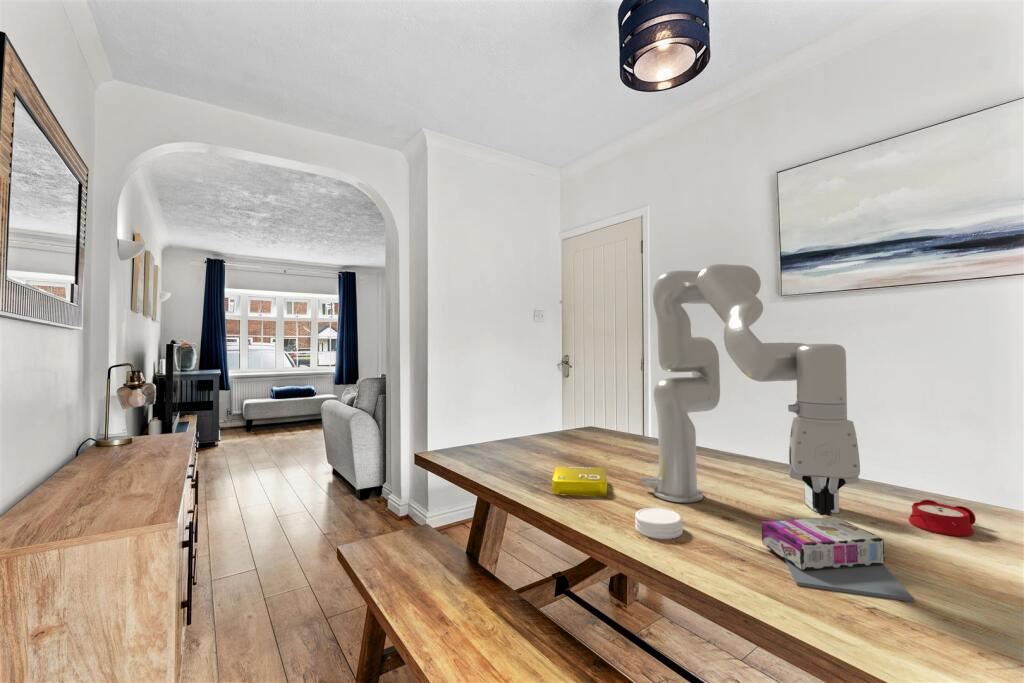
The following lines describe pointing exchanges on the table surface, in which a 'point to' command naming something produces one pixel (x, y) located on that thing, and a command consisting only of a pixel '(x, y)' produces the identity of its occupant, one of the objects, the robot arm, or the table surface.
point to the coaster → (658, 523)
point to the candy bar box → (822, 543)
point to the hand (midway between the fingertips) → (823, 512)
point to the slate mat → (853, 580)
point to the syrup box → (809, 496)
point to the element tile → (579, 481)
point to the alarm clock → (942, 518)
